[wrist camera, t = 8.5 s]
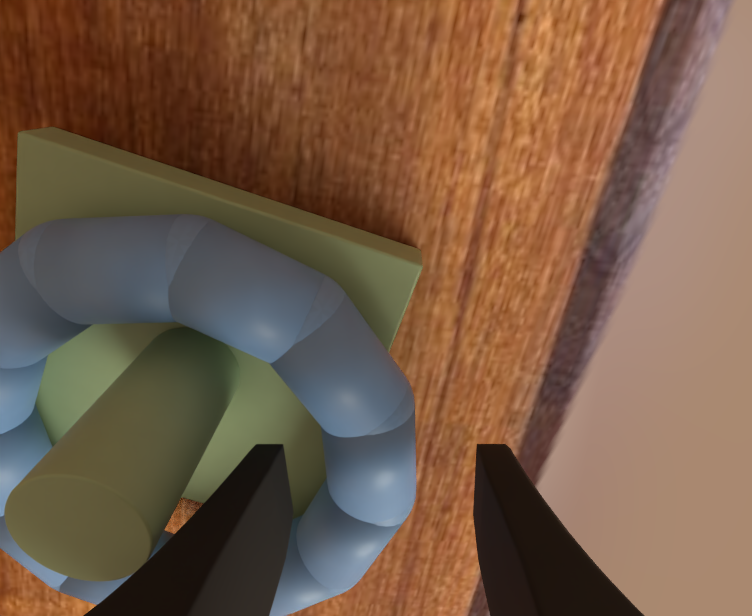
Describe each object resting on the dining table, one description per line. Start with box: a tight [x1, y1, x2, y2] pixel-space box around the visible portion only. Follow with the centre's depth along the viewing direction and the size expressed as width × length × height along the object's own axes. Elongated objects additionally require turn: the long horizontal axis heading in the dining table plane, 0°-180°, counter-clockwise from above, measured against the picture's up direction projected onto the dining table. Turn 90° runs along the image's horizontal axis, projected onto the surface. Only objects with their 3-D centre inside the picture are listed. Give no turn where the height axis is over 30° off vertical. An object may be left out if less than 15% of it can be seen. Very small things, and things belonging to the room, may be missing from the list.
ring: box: [0, 214, 416, 616], centre depth 12 cm, size 12×12×2 cm
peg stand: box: [4, 127, 423, 581], centre depth 11 cm, size 9×9×6 cm
